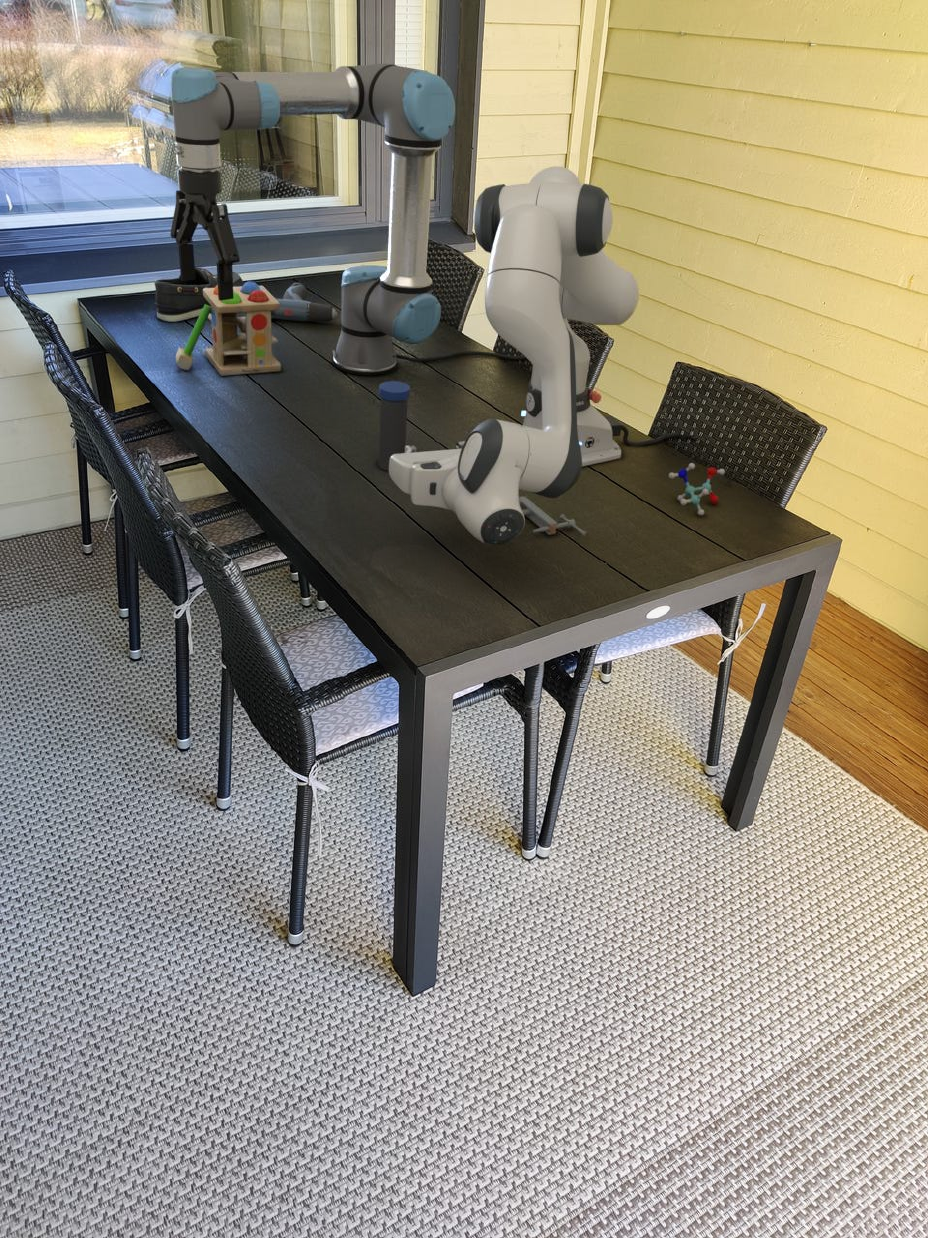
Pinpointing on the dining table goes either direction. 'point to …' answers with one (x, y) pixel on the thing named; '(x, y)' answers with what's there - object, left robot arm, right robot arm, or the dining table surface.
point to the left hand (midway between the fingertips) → (206, 289)
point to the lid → (394, 391)
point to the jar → (391, 430)
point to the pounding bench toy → (229, 347)
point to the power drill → (301, 307)
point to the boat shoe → (186, 295)
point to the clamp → (544, 518)
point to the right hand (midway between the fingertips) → (434, 447)
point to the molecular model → (691, 490)
